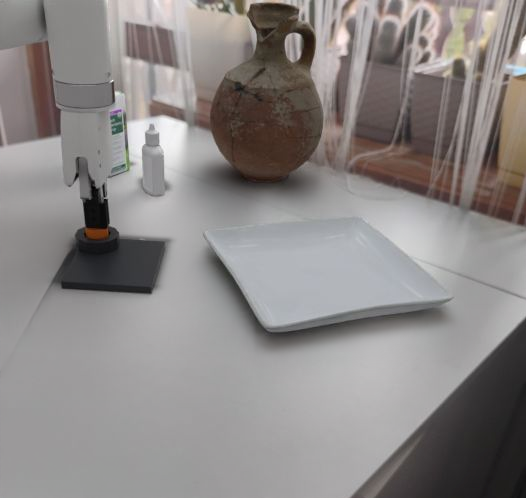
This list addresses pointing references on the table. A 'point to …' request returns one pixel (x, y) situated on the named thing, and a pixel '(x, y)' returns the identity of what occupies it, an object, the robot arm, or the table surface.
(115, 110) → the syrup box
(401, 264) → the square plate
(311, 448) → the table surface
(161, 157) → the eye dropper bottle
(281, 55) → the jug
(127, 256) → the dark grey button base
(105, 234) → the power button
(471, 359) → the table surface
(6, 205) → the table surface
